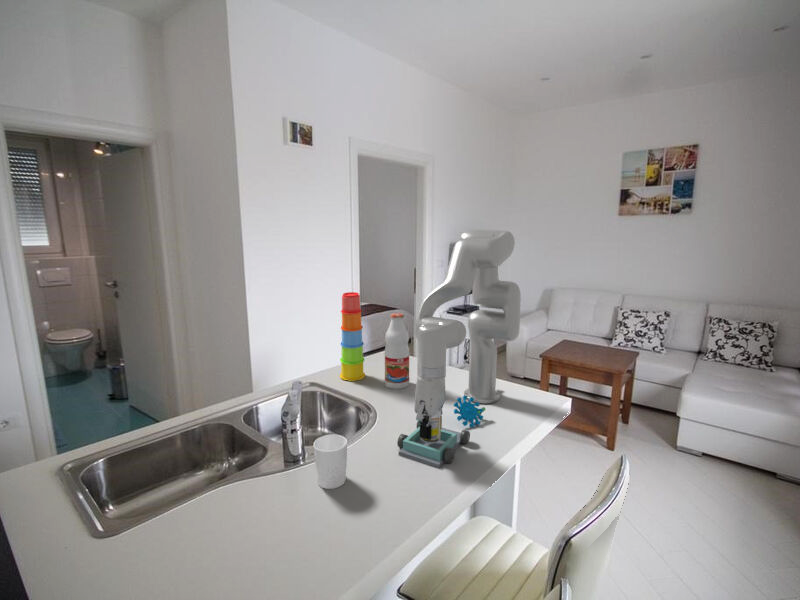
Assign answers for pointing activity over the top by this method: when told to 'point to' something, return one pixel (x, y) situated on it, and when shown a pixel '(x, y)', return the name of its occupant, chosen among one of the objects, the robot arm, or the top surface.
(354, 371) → the stacking cups
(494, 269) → the robot arm
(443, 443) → the chassis
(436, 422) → the supplement bottle
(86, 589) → the top surface
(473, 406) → the gear
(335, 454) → the white cup
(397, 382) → the fruit juice
